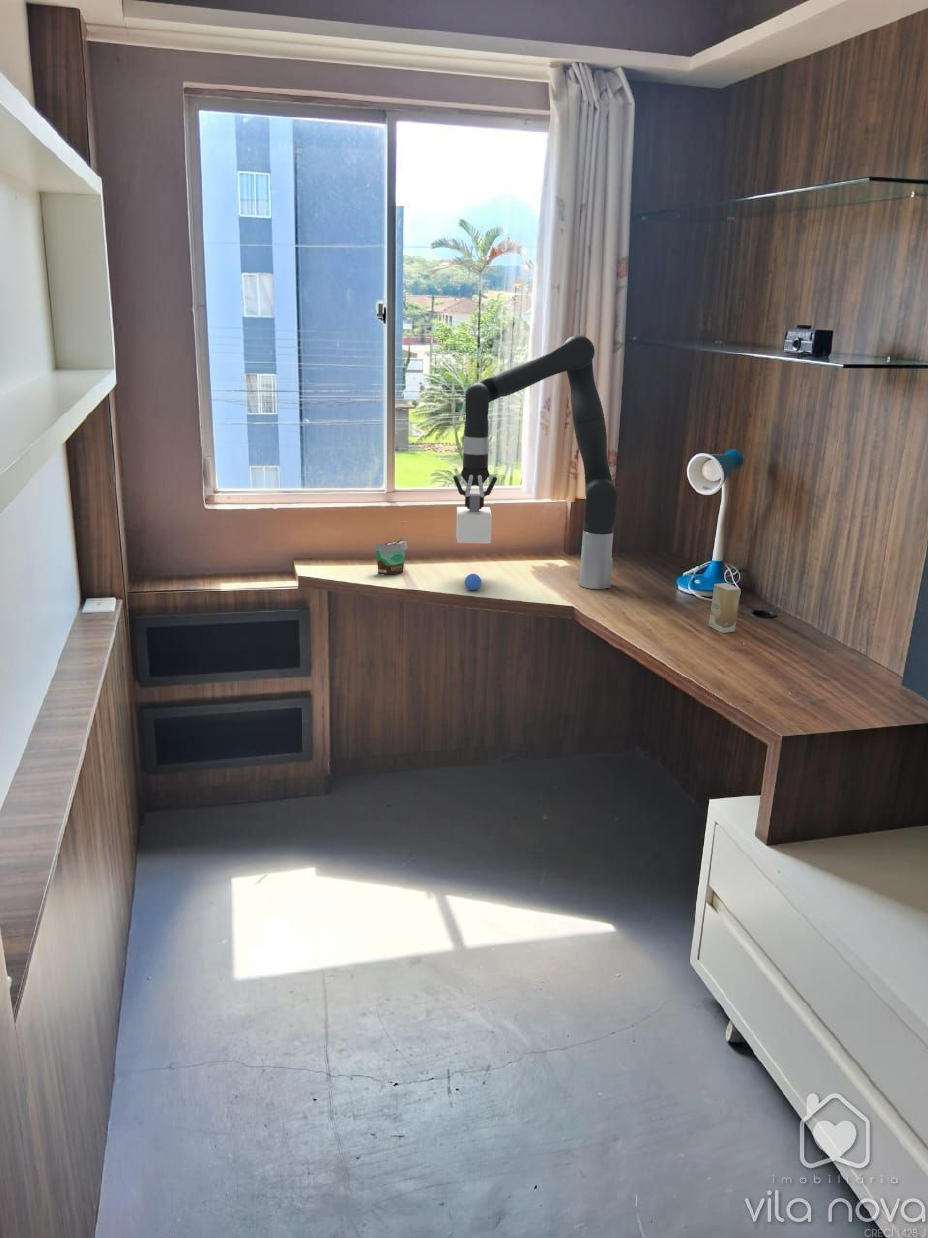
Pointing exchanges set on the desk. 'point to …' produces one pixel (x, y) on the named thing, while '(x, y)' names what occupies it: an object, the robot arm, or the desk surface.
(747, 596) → the desk surface
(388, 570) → the food container
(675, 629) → the desk surface
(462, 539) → the white block with peg
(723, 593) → the skincare box
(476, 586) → the ball
